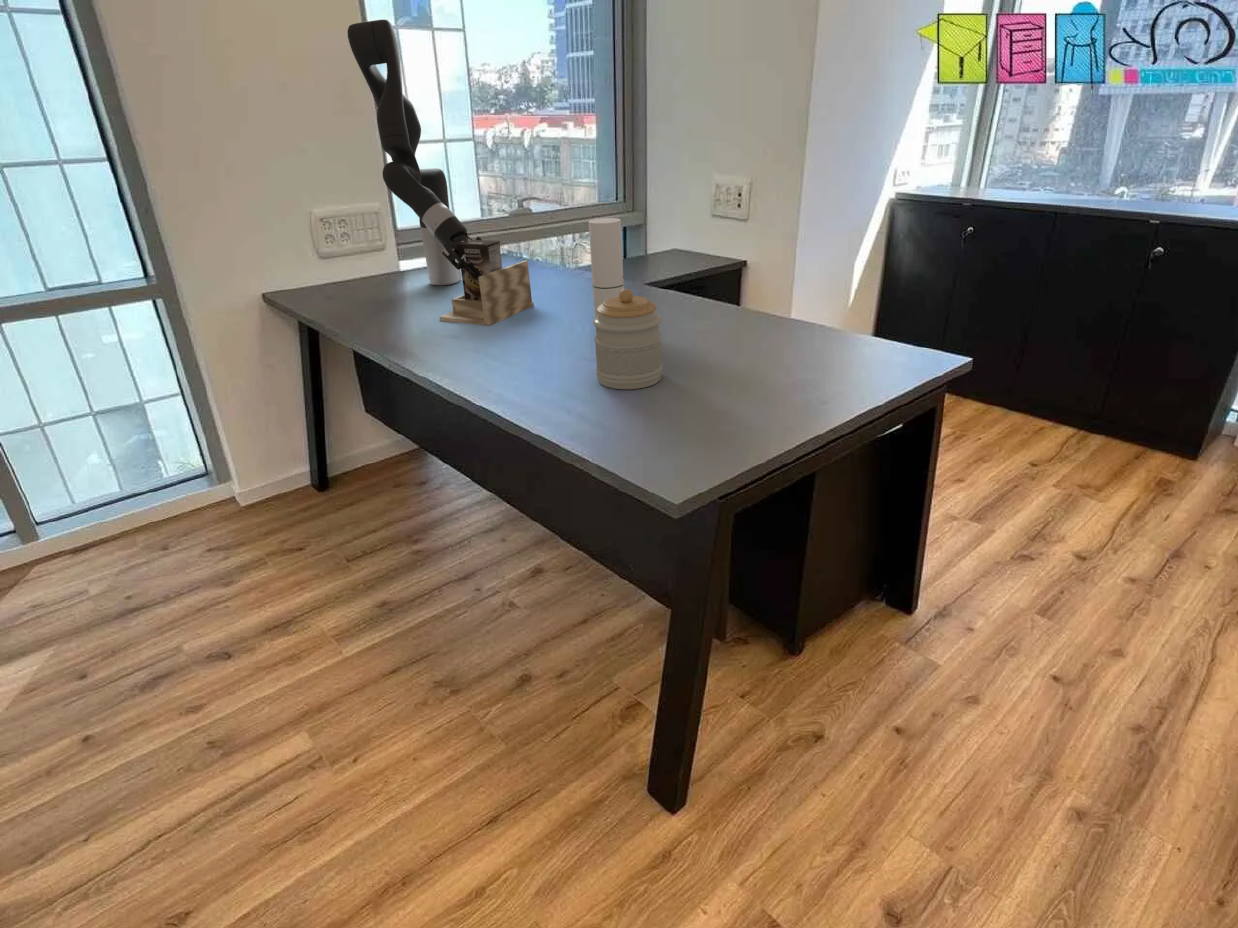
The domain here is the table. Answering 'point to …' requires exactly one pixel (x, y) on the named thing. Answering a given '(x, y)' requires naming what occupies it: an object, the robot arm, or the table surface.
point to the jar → (628, 342)
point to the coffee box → (479, 263)
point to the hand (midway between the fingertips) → (487, 274)
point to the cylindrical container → (606, 259)
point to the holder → (495, 297)
